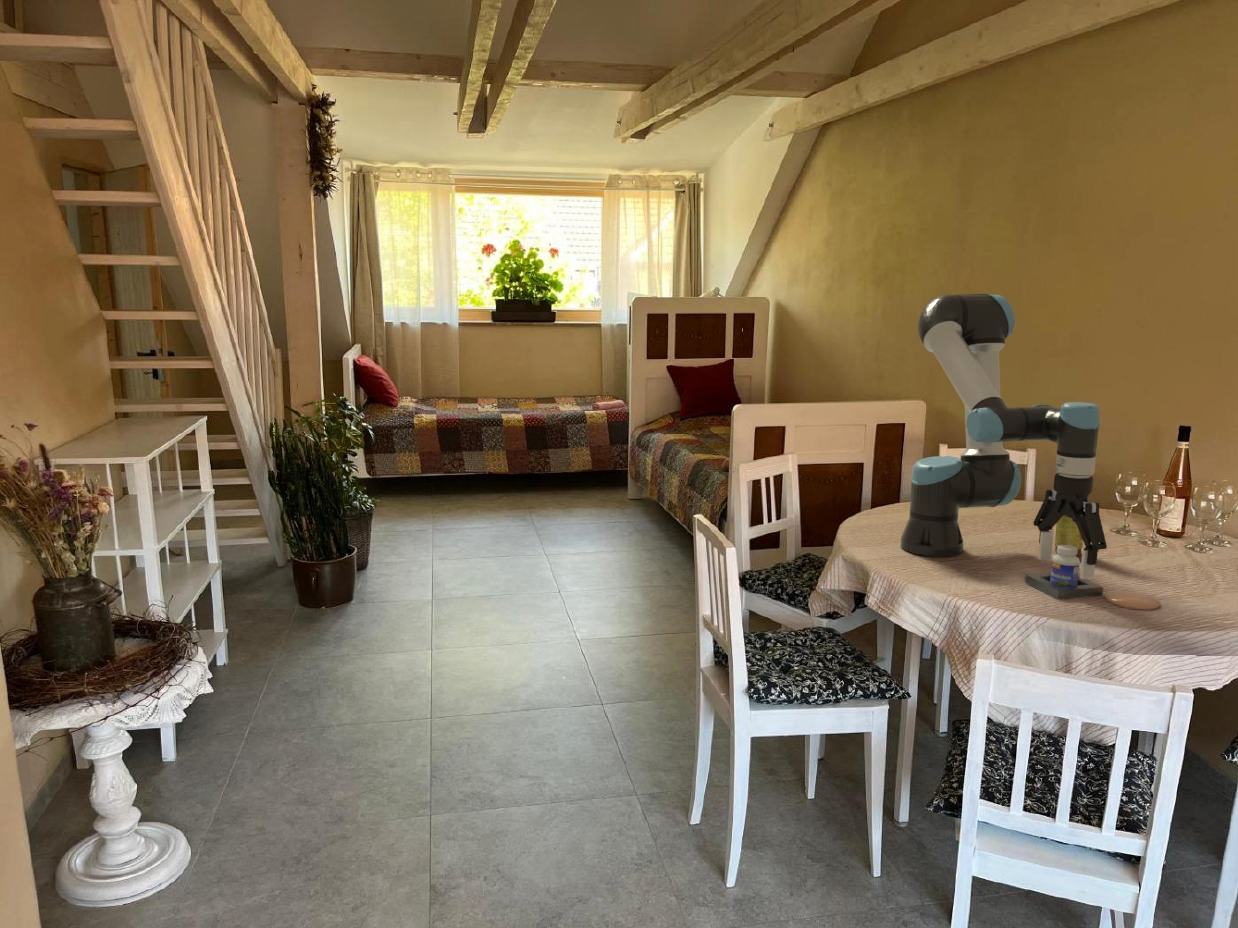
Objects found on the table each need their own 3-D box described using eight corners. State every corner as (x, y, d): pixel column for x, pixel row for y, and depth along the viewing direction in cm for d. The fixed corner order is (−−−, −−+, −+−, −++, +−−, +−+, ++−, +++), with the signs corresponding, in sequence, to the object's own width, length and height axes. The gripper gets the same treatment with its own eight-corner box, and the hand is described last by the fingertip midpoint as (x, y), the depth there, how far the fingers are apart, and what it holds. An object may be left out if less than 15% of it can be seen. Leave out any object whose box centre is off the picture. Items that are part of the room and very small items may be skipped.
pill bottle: (1045, 589, 196) (1049, 547, 194) (1054, 583, 200) (1058, 542, 198) (1071, 595, 193) (1075, 552, 191) (1080, 589, 196) (1084, 547, 194)
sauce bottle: (1084, 557, 218) (1093, 479, 214) (1057, 556, 220) (1065, 478, 216) (1077, 550, 225) (1084, 473, 221) (1050, 548, 226) (1057, 472, 222)
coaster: (1094, 595, 192) (1094, 592, 192) (1134, 591, 194) (1134, 589, 194) (1129, 611, 183) (1129, 609, 183) (1170, 608, 185) (1171, 605, 185)
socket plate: (1024, 582, 201) (1025, 574, 200) (1067, 579, 203) (1068, 571, 202) (1057, 599, 190) (1058, 590, 190) (1102, 595, 192) (1103, 586, 192)
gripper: (1021, 464, 202) (1014, 553, 207) (1100, 488, 178) (1090, 588, 183) (1051, 462, 204) (1042, 550, 208) (1132, 486, 180) (1121, 585, 184)
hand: (1064, 568), depth 195 cm, fingers open, 13 cm apart
